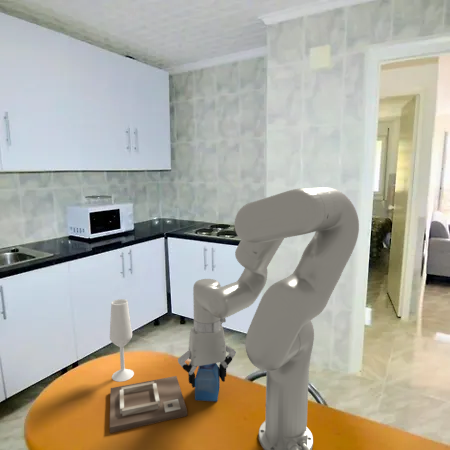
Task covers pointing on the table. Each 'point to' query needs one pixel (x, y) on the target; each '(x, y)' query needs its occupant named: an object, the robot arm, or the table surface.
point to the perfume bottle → (207, 383)
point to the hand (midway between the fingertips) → (207, 381)
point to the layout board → (145, 403)
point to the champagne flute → (121, 335)
